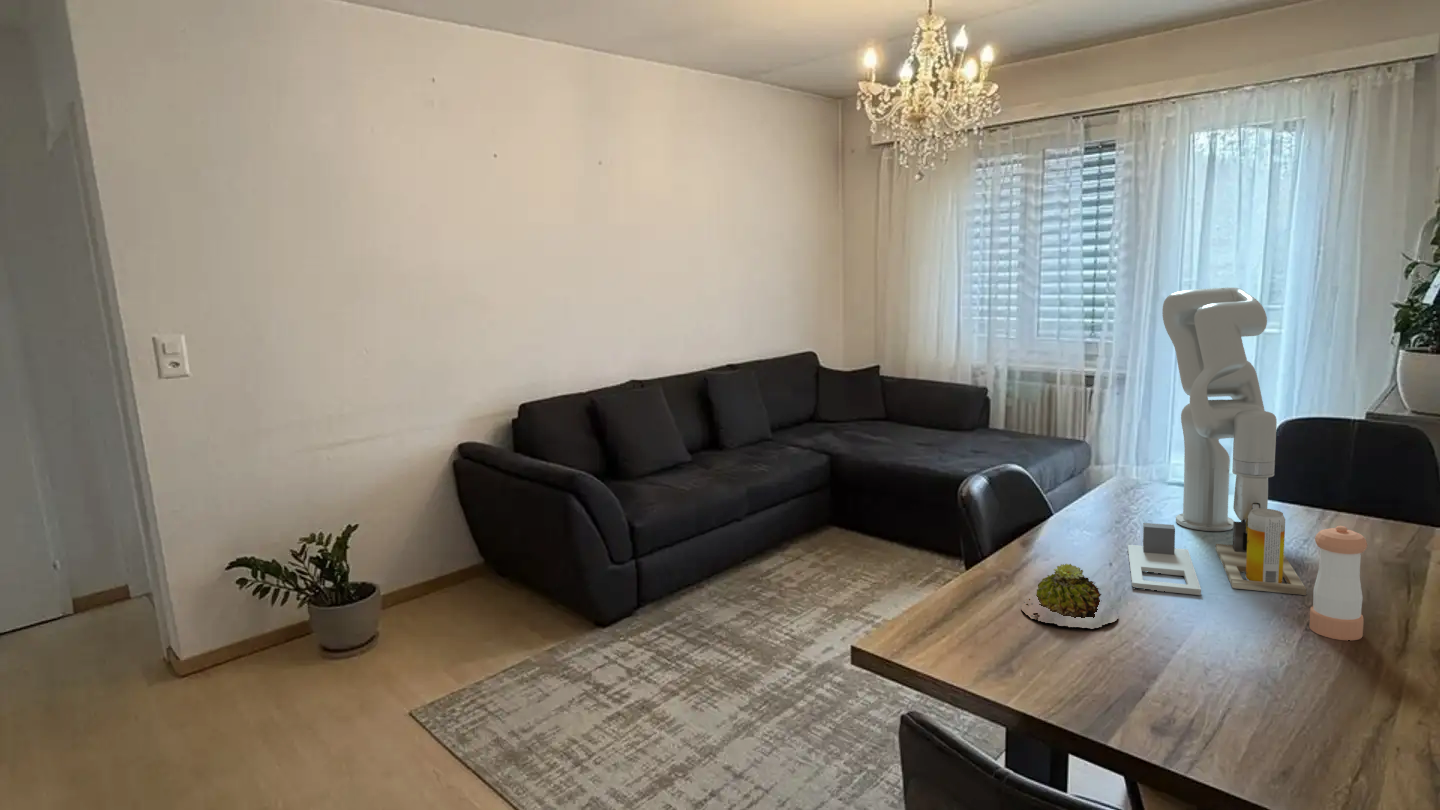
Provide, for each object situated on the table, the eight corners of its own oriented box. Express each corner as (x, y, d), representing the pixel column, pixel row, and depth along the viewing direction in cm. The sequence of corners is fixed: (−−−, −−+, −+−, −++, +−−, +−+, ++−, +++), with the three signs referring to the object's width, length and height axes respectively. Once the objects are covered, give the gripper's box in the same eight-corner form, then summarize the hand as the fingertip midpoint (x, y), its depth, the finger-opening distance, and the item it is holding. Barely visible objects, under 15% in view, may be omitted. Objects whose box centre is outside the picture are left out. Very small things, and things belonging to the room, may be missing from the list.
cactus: (1022, 628, 142) (1022, 578, 140) (1019, 594, 157) (1019, 549, 155) (1125, 636, 136) (1125, 585, 135) (1112, 601, 151) (1112, 554, 149)
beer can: (1270, 577, 157) (1273, 507, 154) (1289, 588, 151) (1292, 516, 148) (1239, 577, 157) (1241, 508, 155) (1256, 589, 151) (1259, 517, 149)
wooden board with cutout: (1215, 548, 173) (1216, 518, 172) (1279, 553, 168) (1281, 522, 167) (1232, 588, 152) (1233, 553, 151) (1306, 595, 147) (1308, 559, 146)
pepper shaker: (1349, 644, 128) (1356, 536, 125) (1300, 629, 134) (1306, 525, 131) (1371, 633, 131) (1378, 527, 128) (1322, 618, 137) (1327, 517, 135)
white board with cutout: (1127, 549, 176) (1128, 519, 175) (1187, 554, 171) (1188, 523, 170) (1132, 588, 155) (1132, 554, 154) (1201, 595, 150) (1202, 560, 149)
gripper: (1227, 458, 174) (1224, 534, 177) (1238, 475, 159) (1235, 558, 162) (1266, 459, 171) (1263, 537, 173) (1282, 477, 156) (1278, 562, 159)
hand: (1249, 546), depth 168 cm, fingers closed on wooden board with cutout, 3 cm apart
